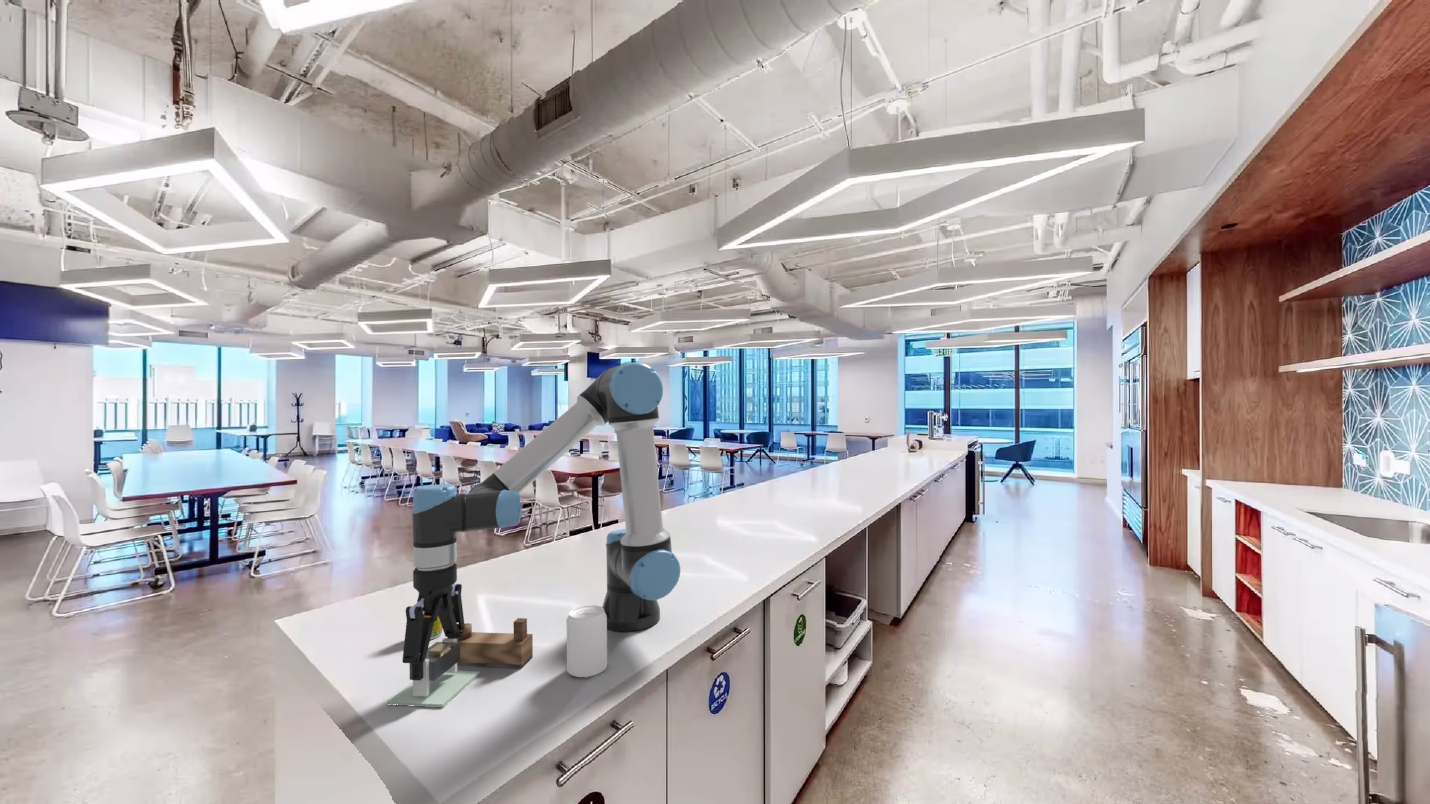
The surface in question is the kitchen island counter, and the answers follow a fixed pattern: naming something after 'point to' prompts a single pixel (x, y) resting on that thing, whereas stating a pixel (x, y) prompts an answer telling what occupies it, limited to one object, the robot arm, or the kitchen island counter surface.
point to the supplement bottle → (436, 628)
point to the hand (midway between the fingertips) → (436, 682)
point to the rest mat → (437, 690)
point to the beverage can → (586, 641)
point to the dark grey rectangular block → (441, 658)
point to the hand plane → (496, 647)
